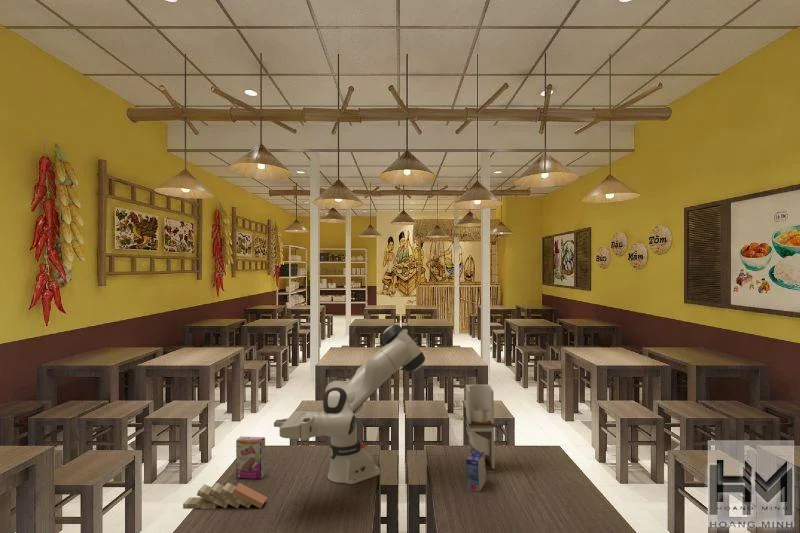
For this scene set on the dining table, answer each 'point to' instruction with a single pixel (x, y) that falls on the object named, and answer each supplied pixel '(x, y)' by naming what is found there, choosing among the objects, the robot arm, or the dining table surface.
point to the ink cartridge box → (475, 470)
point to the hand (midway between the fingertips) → (274, 423)
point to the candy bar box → (250, 457)
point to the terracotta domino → (249, 495)
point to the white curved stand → (481, 422)
